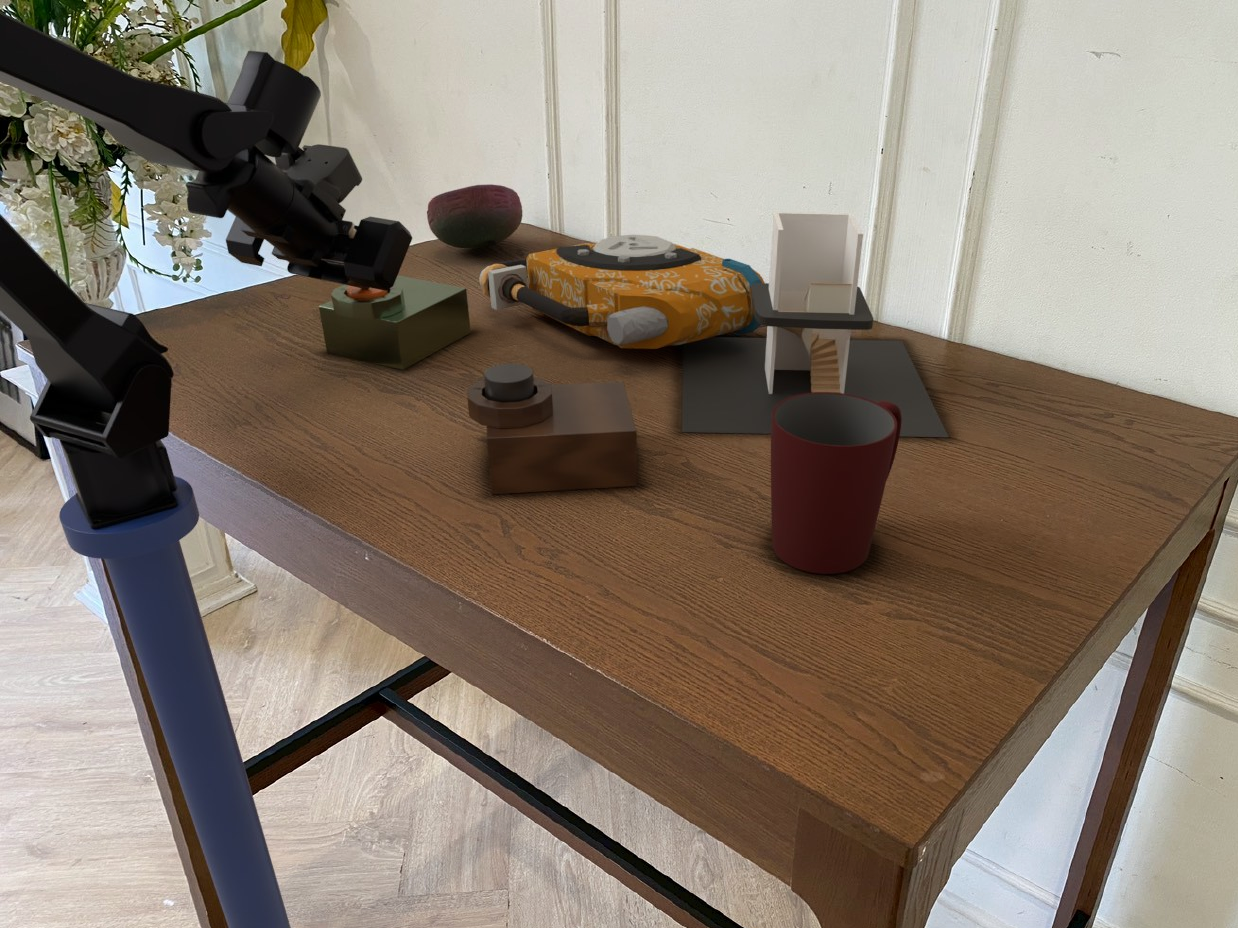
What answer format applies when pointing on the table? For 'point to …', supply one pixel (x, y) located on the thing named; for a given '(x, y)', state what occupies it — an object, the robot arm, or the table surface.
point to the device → (630, 290)
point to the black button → (509, 383)
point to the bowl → (475, 215)
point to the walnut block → (558, 437)
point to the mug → (829, 477)
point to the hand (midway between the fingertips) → (367, 284)
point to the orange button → (364, 293)
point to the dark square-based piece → (803, 340)
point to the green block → (396, 322)
